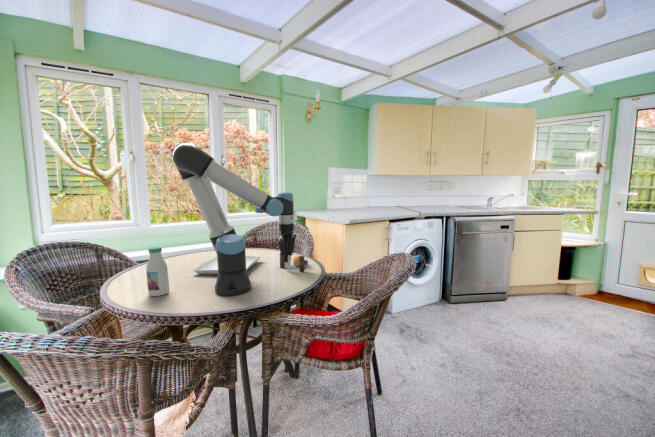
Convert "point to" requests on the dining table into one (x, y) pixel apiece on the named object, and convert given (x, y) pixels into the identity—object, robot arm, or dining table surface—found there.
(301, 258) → the post right
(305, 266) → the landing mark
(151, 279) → the milk bottle
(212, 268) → the square plate
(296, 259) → the ball
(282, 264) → the post left
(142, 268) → the dining table surface
